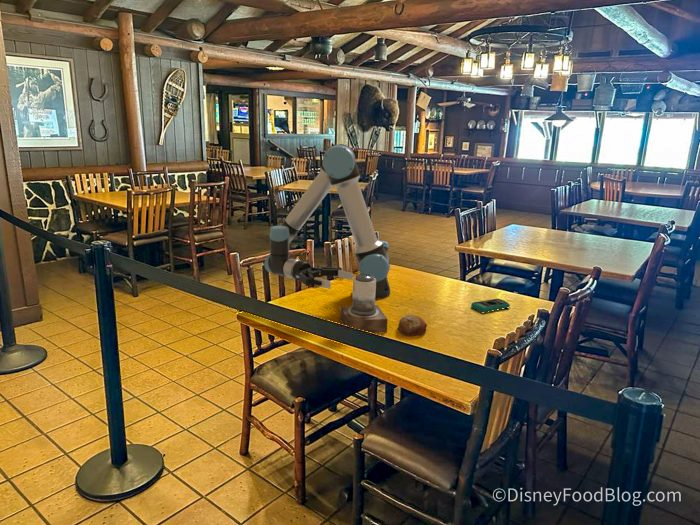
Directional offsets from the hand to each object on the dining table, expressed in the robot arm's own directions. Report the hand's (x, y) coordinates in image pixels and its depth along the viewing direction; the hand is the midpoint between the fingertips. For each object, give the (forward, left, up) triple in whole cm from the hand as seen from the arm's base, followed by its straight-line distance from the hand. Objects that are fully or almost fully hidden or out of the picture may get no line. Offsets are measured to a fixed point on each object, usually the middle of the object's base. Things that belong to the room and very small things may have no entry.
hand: (341, 280), depth 183 cm
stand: (-7, +8, -15) cm, 18 cm away
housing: (-7, +8, -9) cm, 14 cm away
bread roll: (-23, +15, -15) cm, 31 cm away
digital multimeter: (-62, -4, -15) cm, 64 cm away
